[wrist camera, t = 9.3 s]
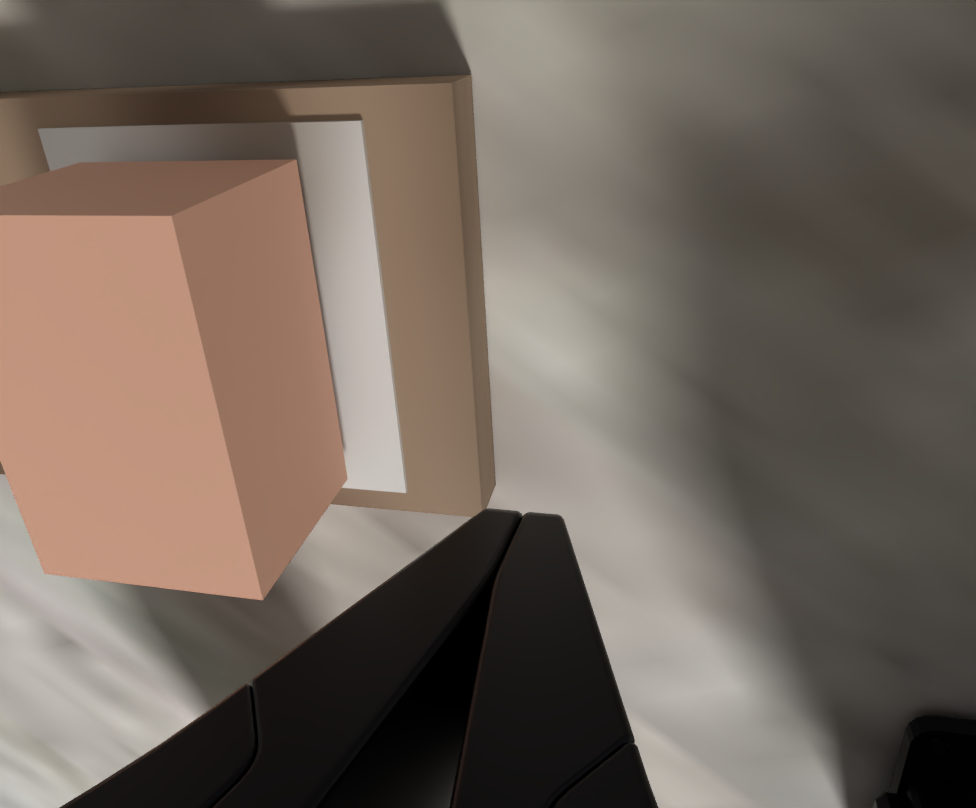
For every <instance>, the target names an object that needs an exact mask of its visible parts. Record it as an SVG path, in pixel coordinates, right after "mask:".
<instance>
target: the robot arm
mask: <svg viewBox="0 0 976 808" xmlns="http://www.w3.org/2000/svg"><path fill="white" fill-rule="evenodd" d="M931 739H938V740H936V741H929V740H931ZM634 742H635V740H634V736H633V733H632V730H631V727H630V724H629V721H628V718H627V714H626V711H625V708H624V705H623V702H622V699H621V696H620V693H619V690H618V686H617V683H616V680H615V677H614V674H613V671H612V668H611V665H610V662H609V658H608V655H607V652H606V649H605V646H604V643H603V640H602V637H601V634H600V630H599V627H598V624H597V621H596V618H595V615H594V612H593V609H592V606H591V603H590V599H589V596H588V593H587V590H586V587H585V584H584V581H583V578H582V575H581V571H580V568H579V565H578V562H577V559H576V556H575V553H574V550H573V547H572V543H571V540H570V537H569V534H568V531H567V528H566V525H565V522H564V519H563V518H562V517H561V516H560V515H557V514H545V513H533V512H529V513H526V514H524V516H522V514H521V513H520V512H518V511H511V510H500V509H484V510H483V511H481V512H479V513H478V514H477V515H475V516H474V517H473V518H471V519H470V520H468V521H467V522H466V523H464V524H463V525H462V526H460V527H459V528H458V529H456V530H455V531H453V532H452V533H451V534H449V535H448V536H447V537H445V538H444V539H443V540H441V541H440V542H438V543H437V544H436V545H434V546H433V547H432V548H430V549H429V550H428V551H426V552H425V553H423V554H422V555H421V556H419V557H418V558H417V559H415V560H414V561H413V562H411V563H410V564H408V565H407V566H406V567H404V568H403V569H402V570H400V571H399V572H398V573H396V574H395V575H393V576H392V577H391V578H389V579H388V580H387V581H385V582H384V583H382V584H381V585H380V586H378V587H377V588H376V589H374V590H373V591H372V592H370V593H369V594H367V595H366V596H365V597H363V598H362V599H361V600H359V601H358V602H357V603H355V604H354V605H352V606H351V607H350V608H348V609H347V610H346V611H344V612H343V613H342V614H340V615H339V616H337V617H336V618H335V619H333V620H332V621H331V622H329V623H328V624H327V625H325V626H324V627H322V628H321V629H320V630H318V631H317V632H316V633H314V634H313V635H312V636H310V637H309V638H307V639H306V640H305V641H303V642H302V643H301V644H299V645H298V646H297V647H295V648H294V649H292V650H291V651H290V652H288V653H287V654H286V655H284V656H283V657H282V658H280V659H279V660H277V661H276V662H275V663H273V664H272V665H271V666H269V667H268V668H266V669H265V670H264V671H262V672H261V673H260V674H258V675H257V676H256V677H254V678H253V679H252V681H251V686H250V685H248V684H245V685H243V686H241V687H240V688H239V689H237V690H236V691H235V692H233V693H232V694H231V695H229V696H228V697H226V698H225V699H224V700H222V701H221V702H220V703H218V704H217V705H216V706H214V707H213V708H211V709H210V710H208V711H207V712H206V713H204V714H203V715H201V716H200V717H198V718H197V719H196V720H194V721H193V722H191V723H190V724H188V725H187V726H186V727H184V728H183V729H181V730H180V731H178V732H177V733H176V734H174V735H173V736H171V737H170V738H168V739H167V740H166V741H164V742H163V743H161V744H160V745H158V746H157V747H155V748H153V749H152V750H150V751H149V752H147V753H146V754H144V755H143V756H141V757H139V758H138V759H136V760H135V761H133V762H132V763H130V764H128V765H127V766H125V767H124V768H122V769H121V770H119V771H118V772H116V773H114V774H113V775H111V776H110V777H108V778H107V779H105V780H103V781H102V782H100V783H99V784H97V785H95V786H94V787H92V788H91V789H89V790H87V791H86V792H84V793H82V794H81V795H79V796H78V797H76V798H74V799H73V800H71V801H69V802H68V803H66V804H65V805H63V806H61V807H60V808H658V806H657V803H656V800H655V797H654V795H653V792H652V789H651V786H650V784H649V781H648V778H647V775H646V772H645V769H644V766H643V763H642V759H641V756H640V753H639V750H638V747H637V746H636V745H635V744H634ZM873 808H976V721H974V720H967V719H959V718H951V717H944V716H922V717H918V718H916V719H914V720H913V721H911V722H910V723H909V724H908V726H907V727H906V730H905V733H904V737H903V741H902V745H901V749H900V752H899V756H898V760H897V764H896V767H895V771H894V775H893V779H892V782H891V786H890V790H889V792H885V791H884V792H883V793H882V794H881V795H880V796H878V797H877V798H876V799H875V800H874V804H873Z"/></svg>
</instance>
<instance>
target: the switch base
mask: <svg viewBox="0 0 976 808" xmlns="http://www.w3.org/2000/svg"><path fill="white" fill-rule="evenodd" d="M289 159H297V166H298V172H299V178H300V184H301V191H302V197H303V203H304V209H305V216H306V222H307V228H308V234H309V241H310V247H311V253H312V259H313V265H314V272H315V278H316V284H317V290H318V297H319V303H320V309H321V315H322V322H323V328H324V334H325V340H326V347H327V353H328V359H329V365H330V372H331V378H332V384H333V390H334V396H335V403H336V409H337V415H338V421H339V428H340V434H341V440H342V446H343V453H344V459H345V465H346V471H347V478H348V479H347V481H346V482H345V483H344V485H343V486H342V488H341V489H340V491H339V492H338V493H337V495H336V496H335V498H334V499H333V501H332V502H331V504H336V505H347V506H358V507H369V508H380V509H391V510H402V511H413V512H424V513H435V514H446V515H457V516H469V517H474V516H475V515H477V514H478V513H479V512H481V511H483V510H484V509H486V508H487V505H488V503H489V500H490V498H491V495H492V493H493V490H494V488H495V485H496V481H495V465H494V448H493V431H492V414H491V398H490V381H489V364H488V347H487V331H486V314H485V297H484V281H483V264H482V247H481V230H480V214H479V197H478V180H477V163H476V147H475V130H474V113H473V96H472V80H471V75H448V76H421V77H395V78H368V79H341V80H315V81H288V82H262V83H235V84H209V85H182V86H156V87H129V88H102V89H76V90H49V91H23V92H0V186H2V185H6V184H9V183H12V182H16V181H19V180H23V179H26V178H29V177H33V176H36V175H39V174H43V173H46V172H49V171H53V170H56V169H59V168H63V167H66V166H69V165H73V164H76V163H79V162H143V161H216V160H289ZM0 474H5V472H4V469H3V467H2V464H1V461H0Z"/></svg>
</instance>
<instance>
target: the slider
mask: <svg viewBox="0 0 976 808" xmlns="http://www.w3.org/2000/svg"><path fill="white" fill-rule="evenodd" d="M0 461H1V464H2V467H3V469H4V472H5V474H6V477H7V479H8V482H9V484H10V487H11V490H12V492H13V495H14V497H15V500H16V502H17V505H18V507H19V510H20V512H21V515H22V518H23V520H24V523H25V525H26V528H27V530H28V533H29V535H30V538H31V540H32V543H33V546H34V548H35V551H36V553H37V556H38V558H39V561H40V563H41V566H42V569H43V571H44V574H52V575H60V576H68V577H76V578H84V579H92V580H101V581H109V582H117V583H125V584H133V585H141V586H150V587H158V588H166V589H174V590H182V591H190V592H199V593H207V594H215V595H223V596H231V597H239V598H248V599H256V600H264V598H265V597H266V595H267V594H268V592H269V591H270V590H271V588H272V587H273V585H274V584H275V582H276V581H277V580H278V578H279V577H280V575H281V574H282V572H283V571H284V569H285V568H286V567H287V565H288V564H289V562H290V561H291V559H292V558H293V557H294V555H295V554H296V552H297V551H298V549H299V548H300V547H301V545H302V544H303V542H304V541H305V539H306V538H307V537H308V535H309V534H310V532H311V531H312V529H313V528H314V526H315V525H316V524H317V522H318V521H319V519H320V518H321V516H322V515H323V514H324V512H325V511H326V509H327V508H328V506H329V505H330V504H331V502H332V501H333V499H334V498H335V496H336V495H337V493H338V492H339V491H340V489H341V488H342V486H343V485H344V483H345V482H346V481H347V479H348V478H347V471H346V465H345V459H344V453H343V446H342V440H341V434H340V428H339V421H338V415H337V409H336V403H335V396H334V390H333V384H332V378H331V372H330V365H329V359H328V353H327V347H326V340H325V334H324V328H323V322H322V315H321V309H320V303H319V297H318V290H317V284H316V278H315V272H314V265H313V259H312V253H311V247H310V241H309V234H308V228H307V222H306V216H305V209H304V203H303V197H302V191H301V184H300V178H299V172H298V166H297V159H289V160H216V161H143V162H79V163H76V164H73V165H69V166H66V167H63V168H59V169H56V170H53V171H49V172H46V173H43V174H39V175H36V176H33V177H29V178H26V179H23V180H19V181H16V182H12V183H9V184H6V185H2V186H0Z"/></svg>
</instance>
